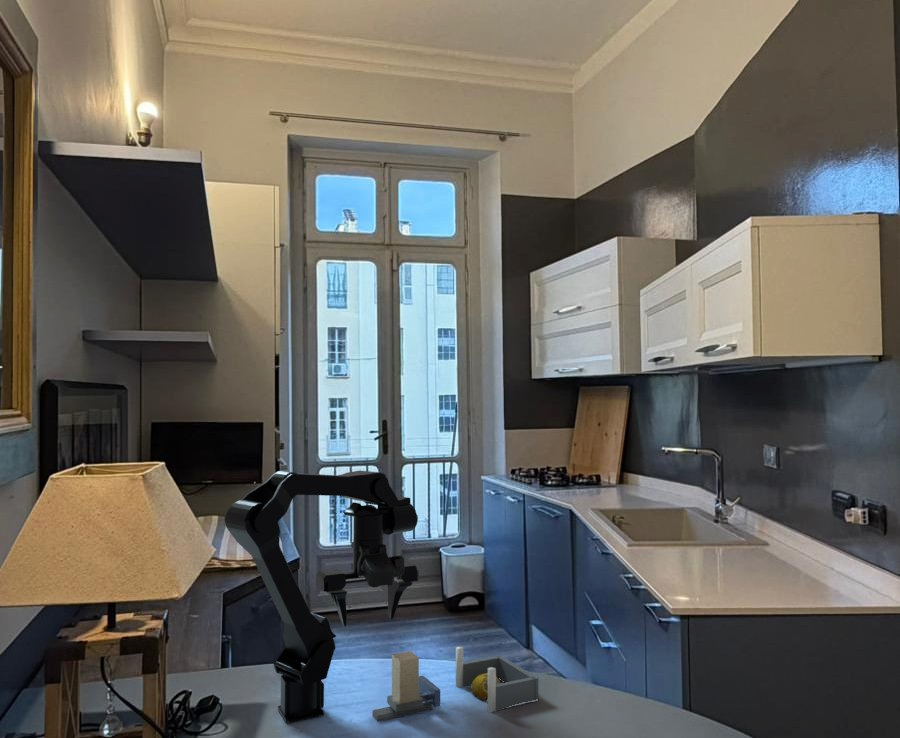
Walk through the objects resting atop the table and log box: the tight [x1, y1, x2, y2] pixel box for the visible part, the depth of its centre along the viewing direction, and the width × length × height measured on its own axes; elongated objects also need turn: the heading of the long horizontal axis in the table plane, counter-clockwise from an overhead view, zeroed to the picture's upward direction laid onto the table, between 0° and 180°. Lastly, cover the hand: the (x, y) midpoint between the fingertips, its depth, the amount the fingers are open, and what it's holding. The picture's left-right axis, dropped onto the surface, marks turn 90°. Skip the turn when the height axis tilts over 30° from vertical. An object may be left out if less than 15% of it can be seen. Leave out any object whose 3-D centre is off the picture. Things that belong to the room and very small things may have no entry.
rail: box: [372, 701, 433, 723], centre depth 120 cm, size 10×2×1 cm, turn 117°
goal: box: [455, 646, 540, 713], centre depth 128 cm, size 10×13×7 cm
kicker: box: [386, 650, 441, 712], centre depth 121 cm, size 8×7×8 cm
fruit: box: [470, 673, 502, 705], centre depth 127 cm, size 8×8×4 cm
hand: (368, 622), depth 131 cm, fingers open, 9 cm apart
